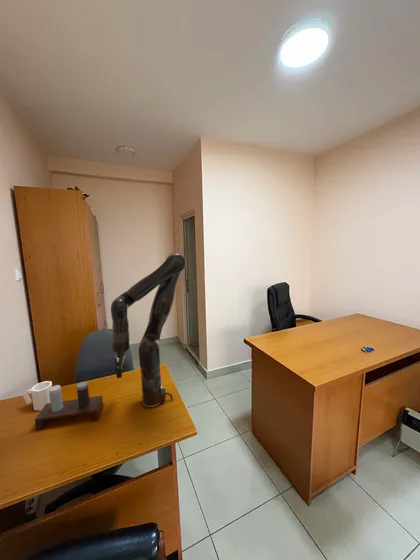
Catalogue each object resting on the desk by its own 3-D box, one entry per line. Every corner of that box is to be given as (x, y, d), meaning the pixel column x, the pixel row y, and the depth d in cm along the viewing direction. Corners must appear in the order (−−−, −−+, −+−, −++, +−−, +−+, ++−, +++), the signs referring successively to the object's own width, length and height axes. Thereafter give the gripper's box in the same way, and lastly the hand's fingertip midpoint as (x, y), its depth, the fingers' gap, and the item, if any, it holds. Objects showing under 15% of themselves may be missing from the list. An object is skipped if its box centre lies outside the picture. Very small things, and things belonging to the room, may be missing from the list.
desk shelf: (103, 404, 110) (102, 395, 109) (97, 419, 100) (96, 409, 99) (47, 413, 105) (46, 403, 104) (36, 429, 95) (34, 419, 94)
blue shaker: (64, 404, 103) (62, 384, 102) (60, 411, 99) (58, 390, 97) (54, 406, 102) (51, 385, 101) (49, 412, 98) (46, 391, 97)
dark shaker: (90, 400, 105) (88, 380, 104) (88, 407, 101) (85, 386, 100) (80, 402, 105) (78, 382, 103) (77, 408, 100) (75, 388, 99)
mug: (57, 397, 116) (54, 379, 114) (50, 408, 108) (47, 389, 106) (29, 401, 113) (27, 383, 111) (20, 413, 104) (17, 394, 103)
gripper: (126, 345, 98) (126, 380, 100) (131, 333, 112) (131, 364, 114) (108, 346, 97) (108, 381, 99) (115, 334, 110) (115, 365, 112)
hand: (121, 372), depth 106 cm, fingers open, 8 cm apart
